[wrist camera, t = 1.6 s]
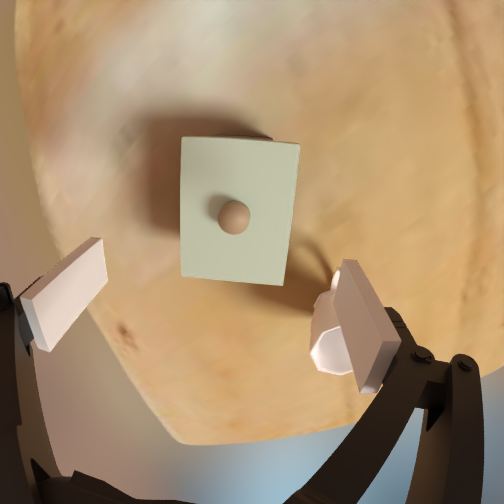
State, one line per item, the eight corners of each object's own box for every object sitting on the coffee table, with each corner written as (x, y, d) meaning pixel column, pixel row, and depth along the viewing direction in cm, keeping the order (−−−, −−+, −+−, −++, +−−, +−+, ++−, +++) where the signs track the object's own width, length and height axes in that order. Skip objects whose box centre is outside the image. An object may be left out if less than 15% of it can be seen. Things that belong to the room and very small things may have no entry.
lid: (188, 135, 24) (177, 137, 21) (297, 143, 23) (302, 145, 21) (186, 266, 28) (177, 282, 26) (282, 274, 28) (283, 293, 25)
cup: (301, 329, 36) (307, 378, 28) (303, 254, 32) (313, 295, 24) (356, 326, 35) (373, 372, 28) (367, 252, 31) (392, 290, 24)
